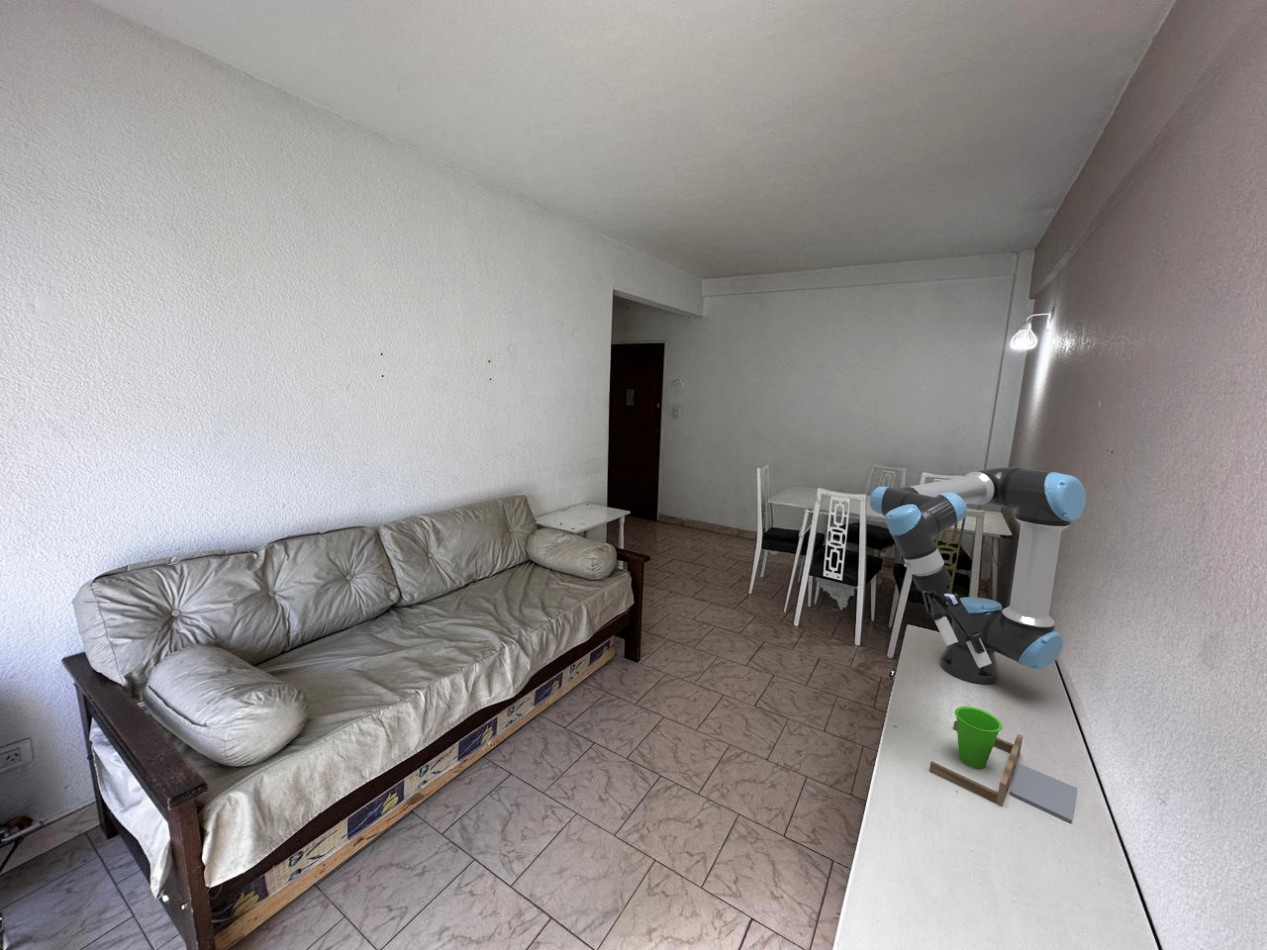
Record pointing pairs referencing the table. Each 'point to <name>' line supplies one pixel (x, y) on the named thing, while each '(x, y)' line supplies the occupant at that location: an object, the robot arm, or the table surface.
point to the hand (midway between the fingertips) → (967, 653)
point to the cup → (976, 735)
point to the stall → (978, 788)
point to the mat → (1044, 792)
